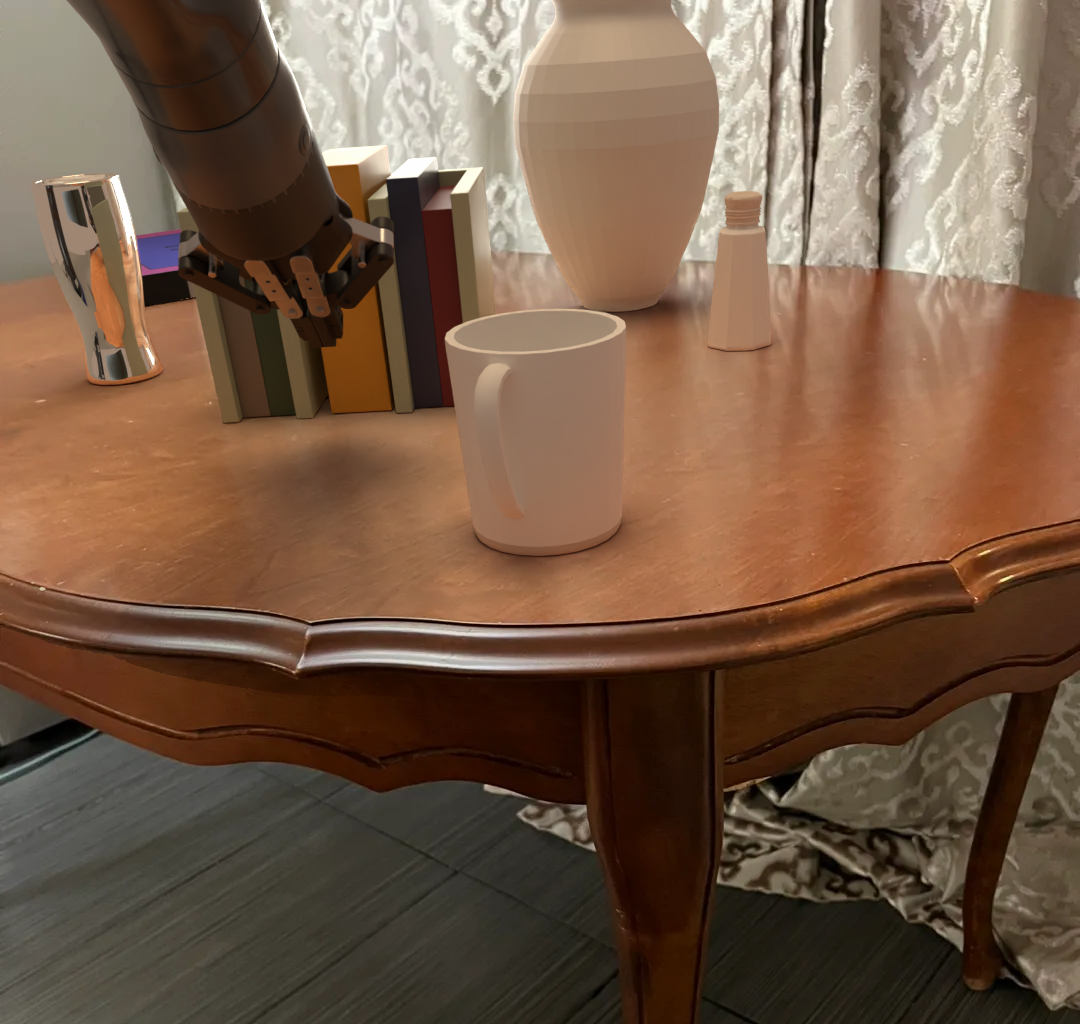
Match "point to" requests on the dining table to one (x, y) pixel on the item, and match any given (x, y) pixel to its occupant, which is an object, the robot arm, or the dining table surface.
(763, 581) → the dining table surface
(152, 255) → the book
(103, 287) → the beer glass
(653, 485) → the dining table surface
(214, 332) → the bookrack
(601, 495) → the mug
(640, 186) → the vase
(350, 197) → the ochre book
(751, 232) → the pepper shaker
